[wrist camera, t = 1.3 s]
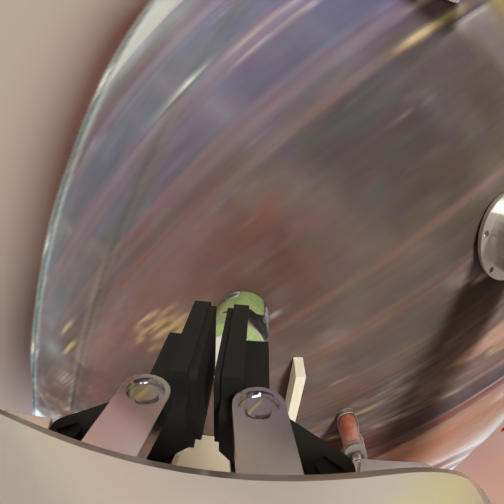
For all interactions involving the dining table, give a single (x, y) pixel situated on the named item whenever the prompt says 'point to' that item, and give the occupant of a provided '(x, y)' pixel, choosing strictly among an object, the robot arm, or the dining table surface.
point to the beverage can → (256, 317)
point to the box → (208, 449)
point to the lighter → (351, 435)
